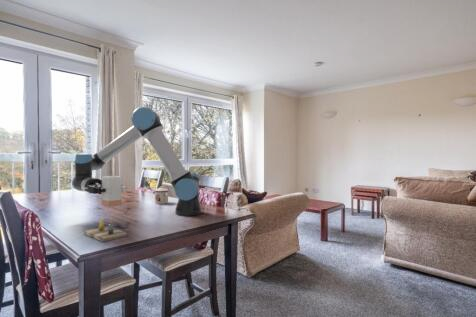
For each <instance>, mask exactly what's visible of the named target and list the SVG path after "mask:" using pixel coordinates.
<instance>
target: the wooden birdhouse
mask: <svg viewBox="0 0 476 317" xmlns="http://www.w3.org/2000/svg"><path fill="white" fill-rule="evenodd" d="M154 202H155V204H157V205H165V203H166V204H168V203H169V189H168V188H165V187H164V186H162V185H161V186H160V187H157V188H156V189H155V190H154Z"/></svg>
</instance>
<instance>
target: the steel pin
mask: <svg viewBox="0 0 476 317" xmlns="http://www.w3.org/2000/svg"><path fill="white" fill-rule="evenodd" d="M107 226H108V234H113V228H114V223H113V222H112V223H108V224H107Z"/></svg>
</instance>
